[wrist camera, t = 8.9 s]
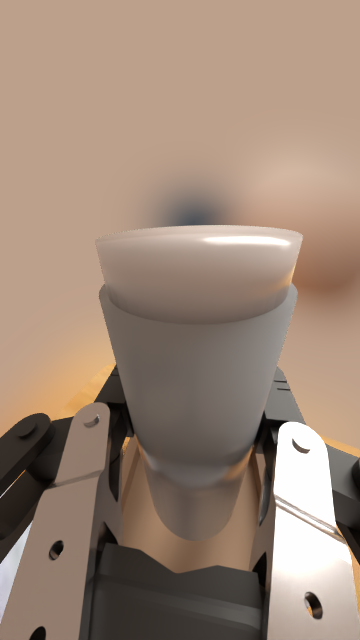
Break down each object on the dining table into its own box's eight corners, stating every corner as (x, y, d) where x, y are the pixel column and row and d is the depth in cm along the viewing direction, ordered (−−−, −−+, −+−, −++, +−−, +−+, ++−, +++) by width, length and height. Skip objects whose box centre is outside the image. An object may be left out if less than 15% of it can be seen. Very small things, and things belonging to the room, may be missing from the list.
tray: (66, 672, 12) (48, 676, 10) (138, 436, 24) (135, 423, 22) (314, 747, 10) (335, 764, 9) (257, 451, 22) (262, 437, 20)
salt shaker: (138, 531, 10) (18, 256, 3) (160, 430, 14) (132, 226, 7) (243, 550, 9) (394, 255, 2) (232, 439, 13) (273, 223, 7)
